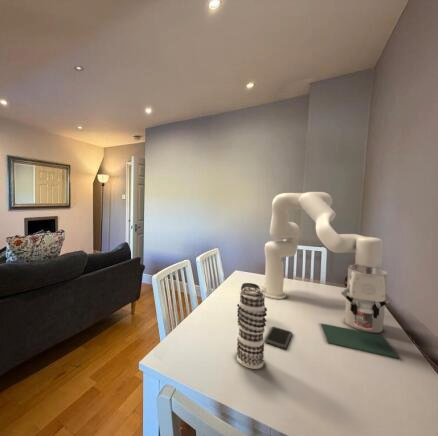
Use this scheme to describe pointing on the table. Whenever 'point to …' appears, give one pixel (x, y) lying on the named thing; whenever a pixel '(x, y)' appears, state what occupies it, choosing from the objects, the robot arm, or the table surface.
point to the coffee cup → (249, 285)
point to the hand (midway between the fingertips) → (363, 314)
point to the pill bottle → (364, 315)
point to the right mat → (358, 340)
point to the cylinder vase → (376, 321)
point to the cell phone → (278, 337)
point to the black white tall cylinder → (251, 327)
